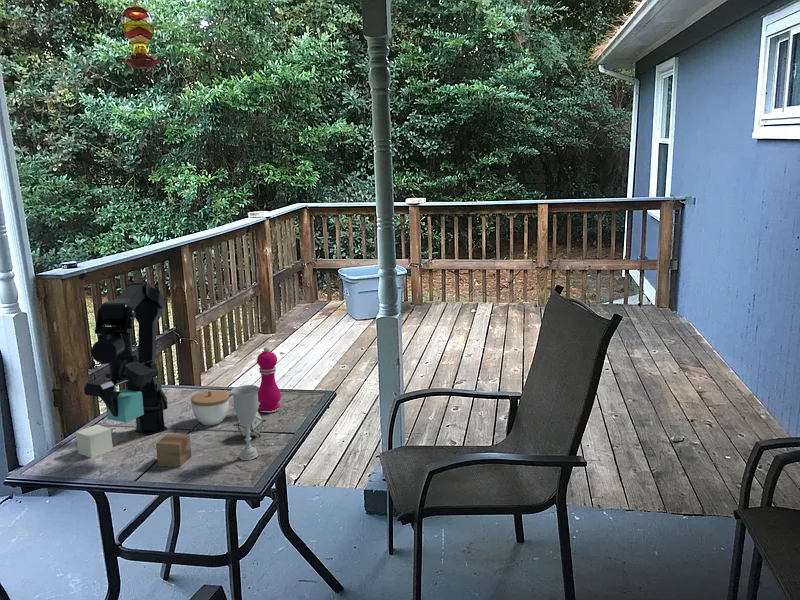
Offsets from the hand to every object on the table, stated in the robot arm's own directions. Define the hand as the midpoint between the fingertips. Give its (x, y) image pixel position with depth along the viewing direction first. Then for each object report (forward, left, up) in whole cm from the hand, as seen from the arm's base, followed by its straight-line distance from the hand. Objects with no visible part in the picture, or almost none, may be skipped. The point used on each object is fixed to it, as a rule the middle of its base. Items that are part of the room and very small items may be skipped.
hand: (125, 412), depth 166 cm
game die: (-29, +11, -13) cm, 33 cm away
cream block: (+4, -11, -13) cm, 17 cm away
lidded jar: (-28, -7, -13) cm, 32 cm away
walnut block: (-7, +10, -13) cm, 18 cm away
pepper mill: (-45, -2, -13) cm, 47 cm away
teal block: (0, 0, -1) cm, 1 cm away
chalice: (-21, +22, -13) cm, 33 cm away
